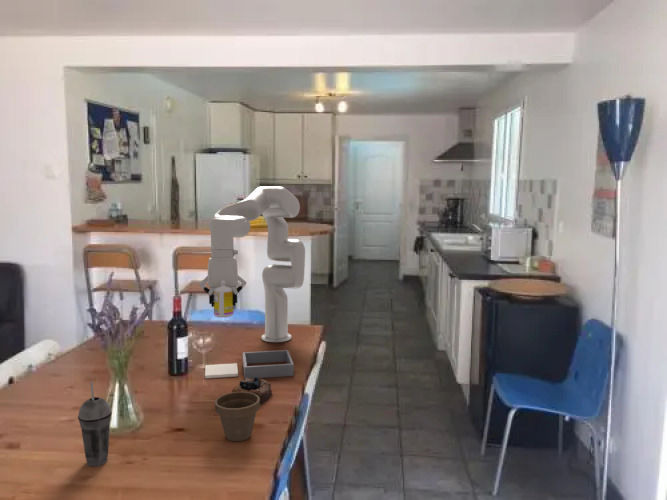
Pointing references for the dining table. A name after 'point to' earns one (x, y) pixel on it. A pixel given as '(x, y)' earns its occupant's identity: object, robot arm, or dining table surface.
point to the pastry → (255, 388)
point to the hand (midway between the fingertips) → (223, 305)
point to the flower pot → (237, 414)
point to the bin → (268, 369)
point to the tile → (221, 370)
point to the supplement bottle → (223, 301)
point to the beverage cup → (95, 429)
